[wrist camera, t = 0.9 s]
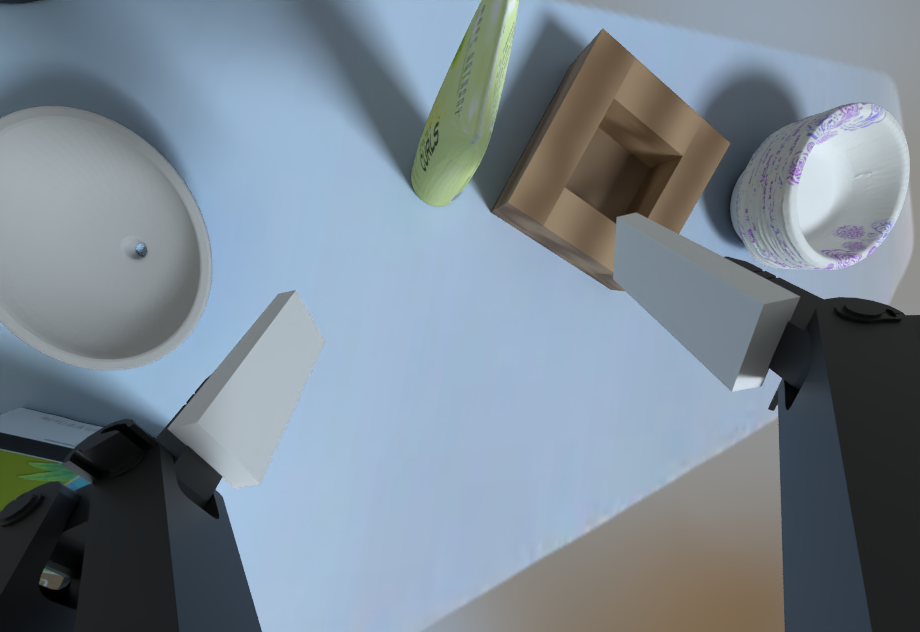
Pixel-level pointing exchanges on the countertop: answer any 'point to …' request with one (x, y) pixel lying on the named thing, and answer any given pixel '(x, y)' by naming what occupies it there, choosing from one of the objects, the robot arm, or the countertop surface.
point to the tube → (465, 106)
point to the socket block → (608, 160)
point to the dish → (96, 241)
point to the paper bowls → (823, 189)
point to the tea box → (38, 458)
